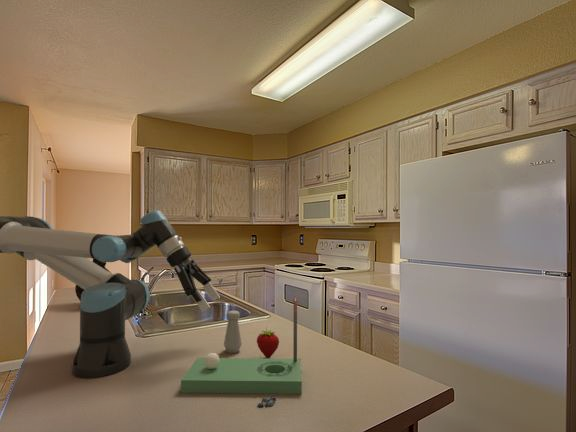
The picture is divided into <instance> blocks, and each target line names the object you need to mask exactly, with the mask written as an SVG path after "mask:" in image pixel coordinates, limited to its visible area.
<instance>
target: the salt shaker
mask: <svg viewBox="0 0 576 432" xmlns="http://www.w3.org/2000/svg"><path fill="white" fill-rule="evenodd" d="M240 318H241V313H240V312H239V311H238V310H229V311H228V312H226V319H227V325H226V332H225V337H224V342H223V346H224V348H225V351H226V352H227V353H228V354H236V353H239V351H240V349H241V347H242V344H243V343H242V337H241V331H240V326H239V325H240V324H239V319H240Z"/></svg>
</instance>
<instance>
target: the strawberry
mask: <svg viewBox="0 0 576 432" xmlns="http://www.w3.org/2000/svg"><path fill="white" fill-rule="evenodd" d="M279 343H280V340H279V337H278V336H277V334H276V333H275V331H272V330H271V329H270V330H268V331H267V328H266V331H265V330H262V331H261V333H259V334H258V336H257V337H256V344H257V347H258V349H259V350H260V352H261V353H262V354H263V355H264V357H265V358H272V356H273V355H274V353H275V352H276V351H277V349H278V348H279Z"/></svg>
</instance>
